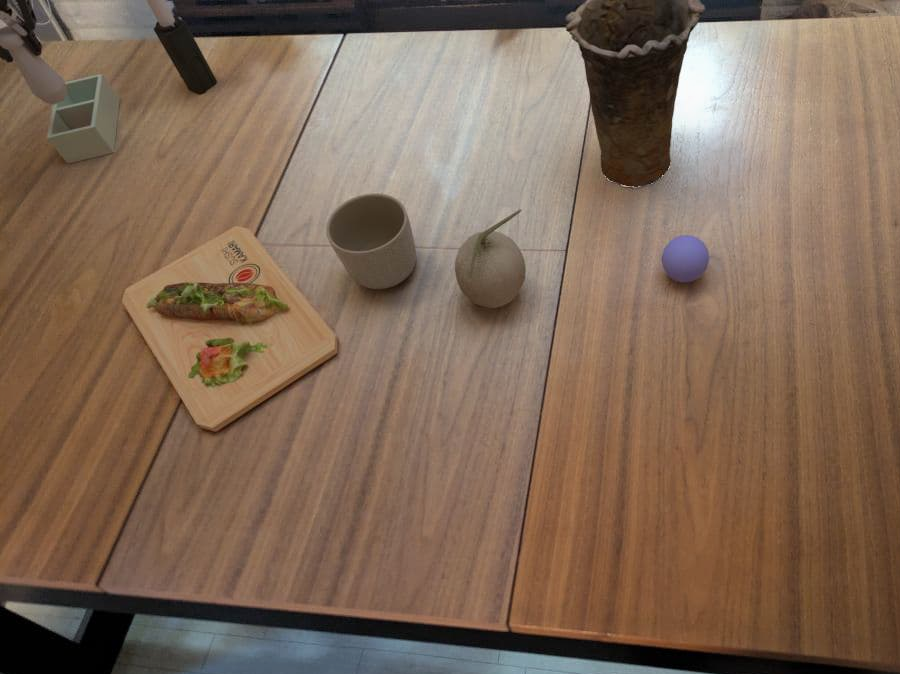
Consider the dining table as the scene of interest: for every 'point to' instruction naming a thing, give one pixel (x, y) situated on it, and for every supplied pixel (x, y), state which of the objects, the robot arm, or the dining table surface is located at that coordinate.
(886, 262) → the dining table surface
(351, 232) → the planter
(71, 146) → the box
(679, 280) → the sphere
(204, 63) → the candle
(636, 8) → the vase
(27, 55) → the salt shaker
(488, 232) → the fruit
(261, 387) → the cutting board
